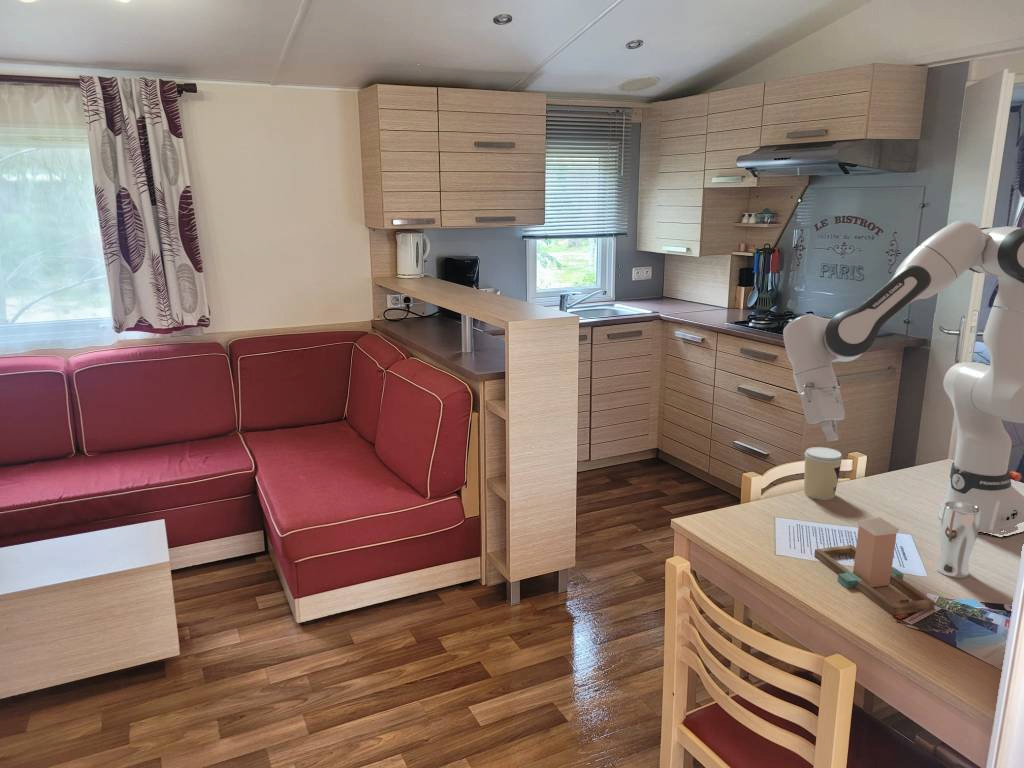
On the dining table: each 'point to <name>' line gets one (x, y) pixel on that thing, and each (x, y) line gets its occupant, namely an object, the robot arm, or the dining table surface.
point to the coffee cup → (821, 472)
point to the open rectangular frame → (853, 581)
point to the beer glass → (957, 537)
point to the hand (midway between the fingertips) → (833, 440)
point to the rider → (875, 551)
